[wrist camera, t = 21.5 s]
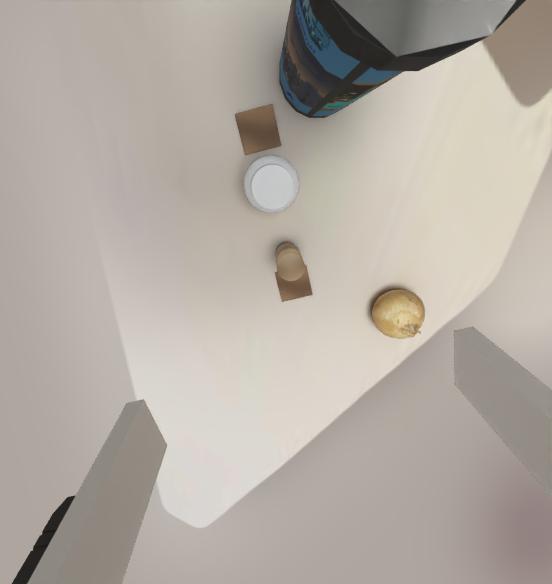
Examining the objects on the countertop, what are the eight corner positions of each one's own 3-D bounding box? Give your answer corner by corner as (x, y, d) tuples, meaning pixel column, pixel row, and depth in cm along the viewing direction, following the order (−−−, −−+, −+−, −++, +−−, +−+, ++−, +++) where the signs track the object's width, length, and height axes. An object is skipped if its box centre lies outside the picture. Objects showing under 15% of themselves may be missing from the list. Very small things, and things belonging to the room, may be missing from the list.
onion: (359, 319, 54) (373, 341, 48) (380, 277, 51) (397, 294, 45) (401, 332, 56) (419, 355, 49) (423, 292, 53) (446, 311, 46)
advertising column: (283, 131, 43) (323, 84, 15) (265, 29, 38) (275, -305, 11) (367, 113, 42) (566, 28, 15) (358, 6, 38) (620, -402, 10)
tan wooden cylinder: (273, 242, 48) (275, 257, 41) (296, 237, 48) (302, 252, 41) (277, 264, 50) (280, 283, 42) (300, 260, 50) (306, 278, 42)
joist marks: (234, 114, 42) (234, 114, 41) (272, 104, 41) (272, 103, 41) (282, 301, 52) (282, 301, 52) (312, 294, 52) (312, 294, 52)
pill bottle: (262, 212, 47) (262, 229, 36) (237, 172, 44) (230, 177, 34) (301, 188, 46) (313, 198, 35) (277, 145, 43) (283, 142, 33)
